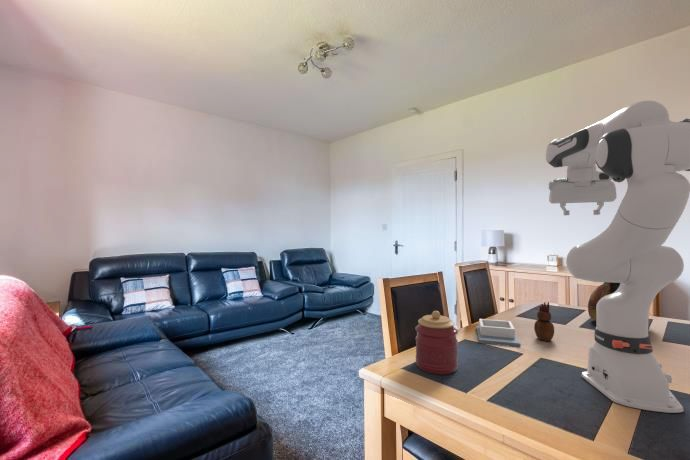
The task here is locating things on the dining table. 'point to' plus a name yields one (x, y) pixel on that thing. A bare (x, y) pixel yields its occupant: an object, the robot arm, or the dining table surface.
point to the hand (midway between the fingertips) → (581, 215)
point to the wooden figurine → (544, 324)
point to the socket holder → (497, 332)
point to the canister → (436, 344)
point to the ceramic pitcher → (600, 296)
